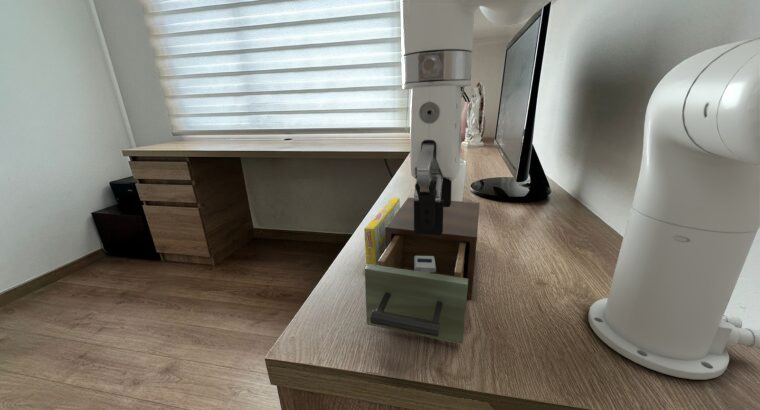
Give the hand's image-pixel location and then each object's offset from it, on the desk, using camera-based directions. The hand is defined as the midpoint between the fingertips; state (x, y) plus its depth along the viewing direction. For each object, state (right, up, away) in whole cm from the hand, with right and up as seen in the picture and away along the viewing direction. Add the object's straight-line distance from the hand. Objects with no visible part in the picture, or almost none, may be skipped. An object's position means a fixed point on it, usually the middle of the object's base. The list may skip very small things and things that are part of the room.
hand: (434, 218), depth 40 cm
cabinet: (+2, -9, +13) cm, 16 cm away
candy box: (-6, -7, +19) cm, 21 cm away
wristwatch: (-1, -11, +3) cm, 11 cm away
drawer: (-2, -12, +1) cm, 13 cm away
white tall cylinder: (+8, -4, +29) cm, 30 cm away
